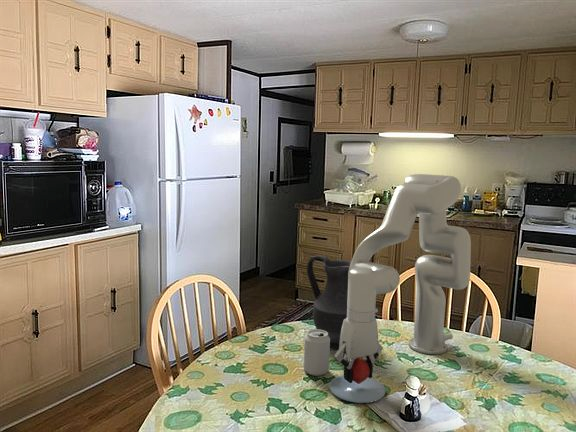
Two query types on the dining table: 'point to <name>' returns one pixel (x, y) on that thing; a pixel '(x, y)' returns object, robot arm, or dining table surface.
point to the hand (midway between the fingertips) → (358, 377)
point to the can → (316, 352)
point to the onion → (360, 370)
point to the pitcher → (330, 297)
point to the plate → (357, 390)
